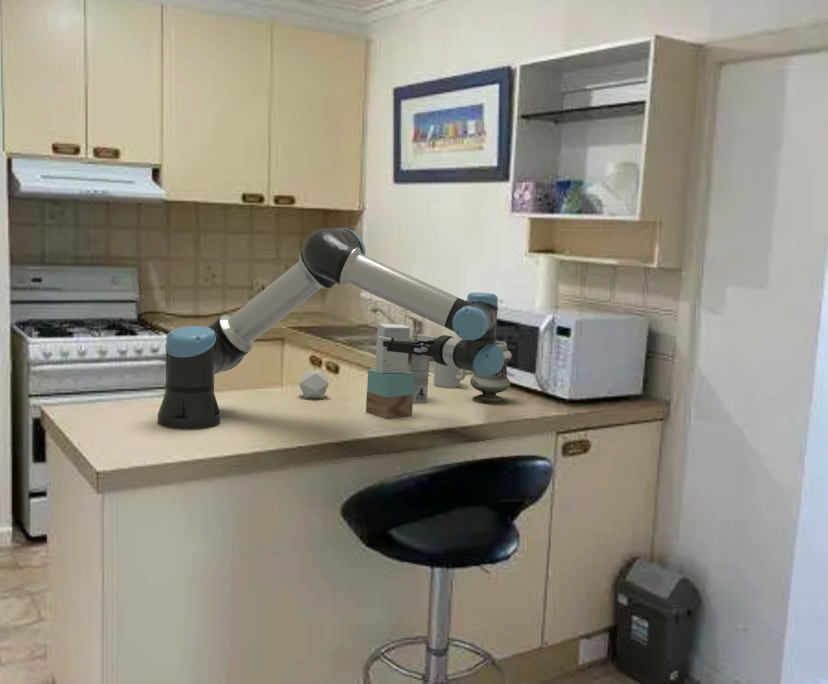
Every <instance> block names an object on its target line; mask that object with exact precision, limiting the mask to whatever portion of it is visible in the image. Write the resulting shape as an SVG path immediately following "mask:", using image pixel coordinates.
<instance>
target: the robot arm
mask: <svg viewBox="0 0 828 684" xmlns="http://www.w3.org/2000/svg"><path fill="white" fill-rule="evenodd" d="M298 257H299V260H298V262H297V263H295V264H294V265H292V266H291V267H290V268H289V269H288V270H286V271H285V272H284V273H283V274H282V275H280V276H279V277H278V278H277V279H275V280H274V281H273V282H272V283H271V284H269V285H268V286H267V287H265V288H264V289H263V290H262V291H261V292H259V293H258V294H257V295H255V297H253V298H252V299H251V300H249V301H248V302H247V303H246V304H244V305H243V306H242V307H240V308H239V309H238V310H237V311H236V312H235V313H234V314H232V315H229V314H224V315H222V316H220V317H219V318H217V319H216V320H215V321H214V322H213V323H211V324H210V325H209V326H202V325H189V326H185V327H184V326H182V327H177V328H175V329H171V331H169V332H168V333H167V335H166V343H165V393H164V396H163V398H162V401H161V404H160V407H159V409H158V413H157V424H158V425H159V426H161V427H164V428H168V429H169V428H170V429H175V430H177V429H178V430H200V429H208V428H209V429H210V428H214V427H217V426H218V425H220V424H221V411H220V408H219V404H218V402H217V401H218V400H217V397H216V395H215V374H219V373H222V372H226V371H228V370H232V369H234V368H235V367H237V366H238V365H239V364H240V363H241V362H242V361H243V360H244V357H245V356H247V354H249V353H250V352H251V351H252V350H253V345H254V344H253V343H254V342H255V340H257V339H258V338H259V337H261V336H262V335H263V334H265V333H266V332H267V331H268V330H270V329H271V328H272V327H273V326H275V325H276V324H277V323H278V322H279V321H281V320H283V319H284V318H285V317H286V316H288V315H289V314H290V313H291V312H292V311H294V310H295V309H296V308H298V307H299V306H300V305H302V304H303V303H304V302H305V301H306V300H308V299H309V298H310V297H312V296H313V295H314V294H316V293H317V291H319V290H320V289H324V290H325V289H326V290H330V289H331V288H332V287H334V286H335V285H336V284H338V285H340V286H341V287H342V286H346V285H350V286H353V287H354V288H355V287H356V288H357V289H360V290H362V291H364V292H366V293H369V294H371V295H373V296H375V297H377V298H379V299H381V300H384V301H386V302H389V303H390V304H393V305H395V306H398V307H399V308H402V309H404V310H406V311H408V312H410V313H412V314H416V315H418V316H419V317H421V318H424V319H427V320H428V321H430V322H433V323H435V324H437V325H439V326H441V327H443V328H446V329H448V330H449V331H452V332H454V333H455V335H457V336H453V335H446V334H443V335H439V336H438V337H435V336H431V335H426V334H421V333H417V338H416V340H417V341H409V342H407V341H396V340H395V339H394V338H386V337H382V336H378V347H382V348H386V349H387V351H388V352H390V351H391V352H400V353H408V354H415V355H419V356H420V355H427V356H430V357H432V359H433V361H434V363H435V362H436V363H438V364H441V365H445V366H451V367H455V368H457V370H458V371H460V372H461V370H462V369H463V370H466V372H468V371H469V372H471V373H474V374H475V373H477V374H485V375H494V374H496V373H498V372H499V371H500V370H501V368H502V366H503V364H504V354H503V350H502V349H501V348H500V347H499V346H497V345H496V341H497V340H496V339H497V338H496V336H497V323H498V312H499V311H498V310H499V306H498V305H499V303H498V302H499V300H498V299H499V298H498V297H499V296H497V294H495V293H490V292H469V293H468V294H467V298H466V300H465V299H463V298H460V297H458V296H455V295H453V294H452V293H450V292H447V291H444V290H443V289H441V288H438V287H437V286H434V285H432V284H430V283H427V282H424V281H422V280H420V279H418V278H416V277H414V276H411V275H409V274H407V273H405V272H403V271H401V270H398V269H396V268H394V267H391V266H389V265H387V264H384V263H383V262H380V261H379V260H376V259H374V258H372V257H369V256H367V255H366V246H365V243H364V241H363V240H362V238H361V237H360V236H359V234H357V233H356V232H355V231H353V230H351V229H348V228H346V227H336V228H320V229H317V230H315V231H313V232H312V233H311V234H310V235H308V236H307V238H306V239H305V242H304V243H303V248H302V250H301V251H300V253H299V256H298Z"/></svg>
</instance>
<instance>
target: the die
mask: <svg viewBox="0 0 828 684" xmlns="http://www.w3.org/2000/svg"><path fill="white" fill-rule="evenodd" d="M299 383H300V384H299V386H298V387H299V388H300V390H301V392H302V395H303V397H304V399H316V398H323V399H324V396H325V394H326V392H327V389H328V387H329V385H330V382H329V380H328V378H327V376H326V374H325V372H324V370H305V371H304V373H303V376H302V378H301V381H300V382H299Z"/></svg>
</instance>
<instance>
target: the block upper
mask: <svg viewBox="0 0 828 684" xmlns="http://www.w3.org/2000/svg"><path fill="white" fill-rule="evenodd" d="M414 374H415V373H413V372H409V371H407V373H381V372H379V371H378V370H377V369H375V368H371V369H368V370H367V384H366V385H367V386H366V388H367V389H366V392H367V391H368V392H371V393H375V394H378V395H381V396H384V397H396V396H405V395H413V392H414Z"/></svg>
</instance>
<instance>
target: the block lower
mask: <svg viewBox="0 0 828 684" xmlns="http://www.w3.org/2000/svg"><path fill="white" fill-rule="evenodd" d="M365 401H366V403H365V404H366V405H365V413H367V414H369V415H373V416H376V417H378V418H381V419H384V420H390V419H398V418H405V417H406V418H407V417H412V416H413V404H414V403H413V395H405V396H396V397H384V396H381V395H378V394H375V393H371V392H368V391H367V390H366V400H365Z"/></svg>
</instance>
